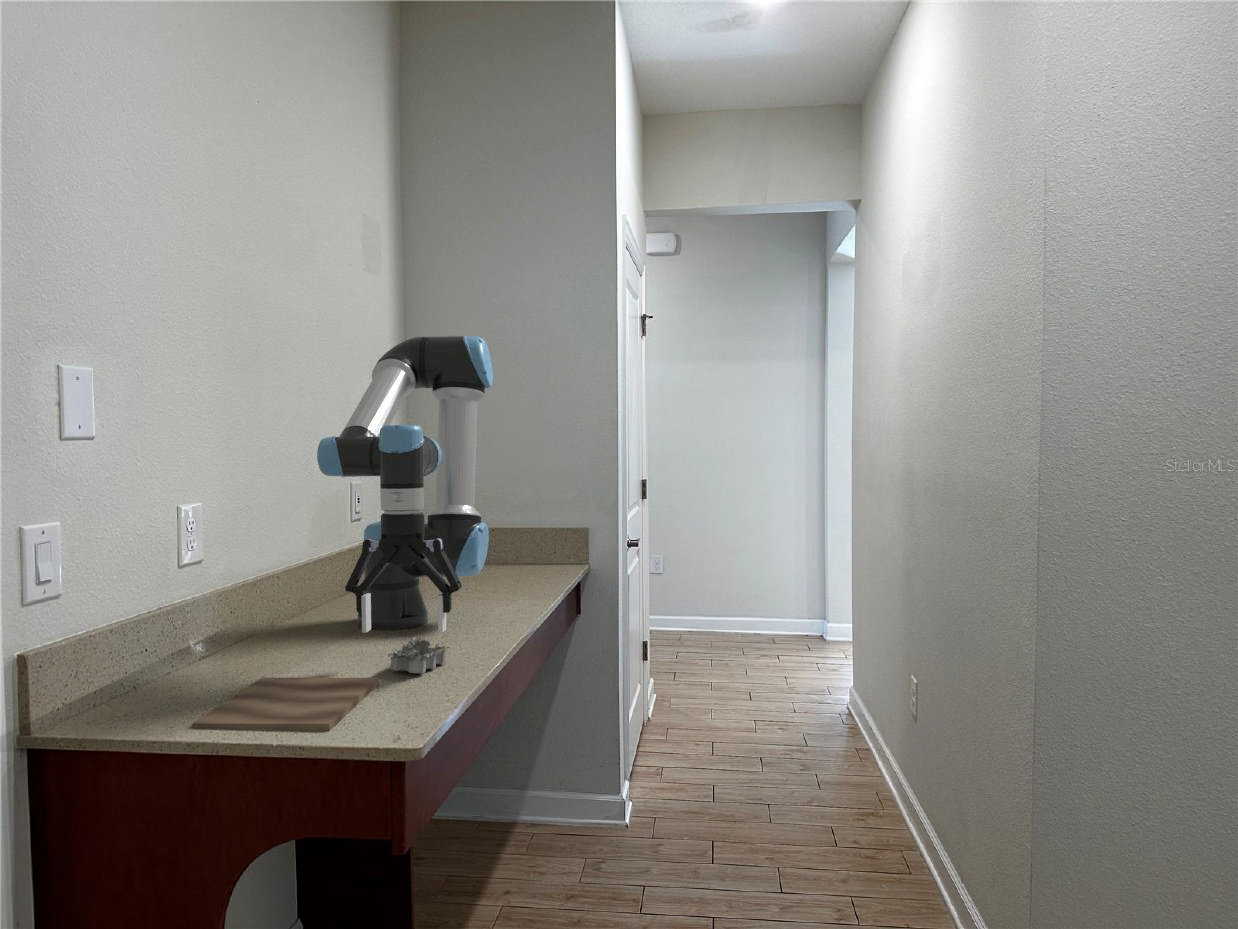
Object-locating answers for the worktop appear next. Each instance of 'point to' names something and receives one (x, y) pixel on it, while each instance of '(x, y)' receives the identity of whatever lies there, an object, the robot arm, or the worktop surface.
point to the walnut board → (289, 704)
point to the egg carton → (417, 656)
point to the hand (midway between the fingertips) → (404, 631)
